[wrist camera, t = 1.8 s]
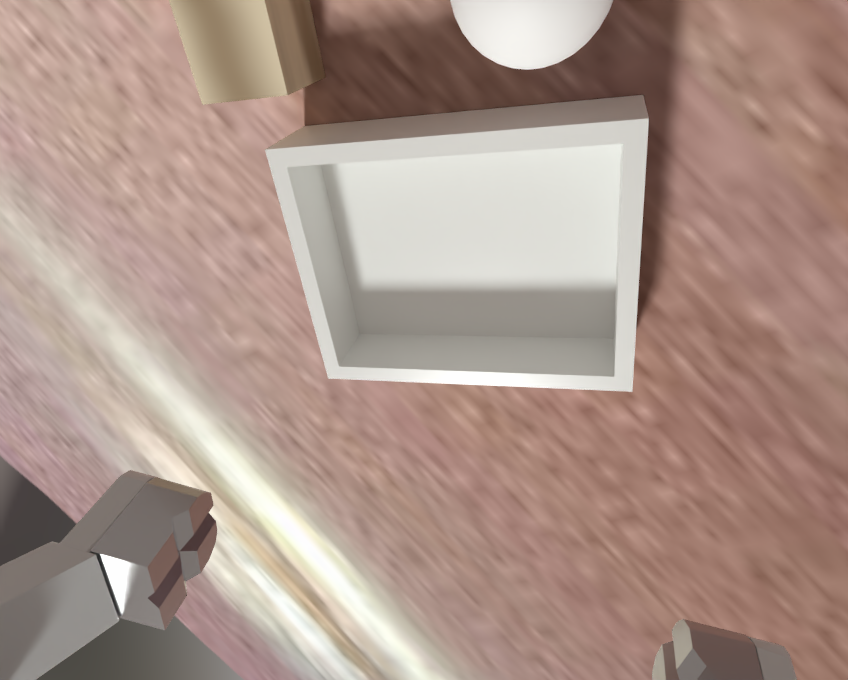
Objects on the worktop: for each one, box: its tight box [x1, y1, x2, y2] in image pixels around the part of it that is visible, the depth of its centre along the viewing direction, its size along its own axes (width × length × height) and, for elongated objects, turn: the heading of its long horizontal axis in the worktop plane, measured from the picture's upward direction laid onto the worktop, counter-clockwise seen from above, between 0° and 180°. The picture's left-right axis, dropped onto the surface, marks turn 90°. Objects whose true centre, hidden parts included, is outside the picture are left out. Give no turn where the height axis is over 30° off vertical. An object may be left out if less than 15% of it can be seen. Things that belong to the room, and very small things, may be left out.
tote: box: [265, 95, 649, 392], centre depth 34 cm, size 19×15×5 cm
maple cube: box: [169, 0, 325, 105], centre depth 31 cm, size 5×5×5 cm
